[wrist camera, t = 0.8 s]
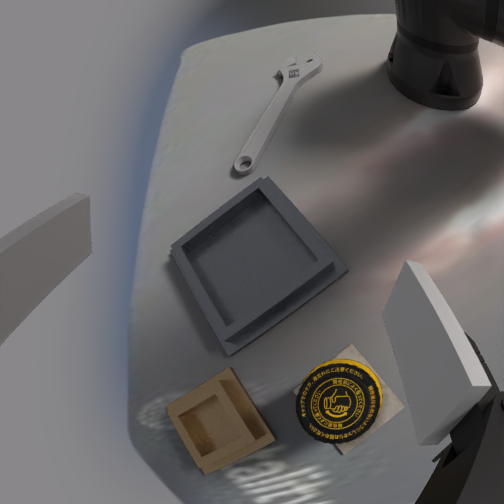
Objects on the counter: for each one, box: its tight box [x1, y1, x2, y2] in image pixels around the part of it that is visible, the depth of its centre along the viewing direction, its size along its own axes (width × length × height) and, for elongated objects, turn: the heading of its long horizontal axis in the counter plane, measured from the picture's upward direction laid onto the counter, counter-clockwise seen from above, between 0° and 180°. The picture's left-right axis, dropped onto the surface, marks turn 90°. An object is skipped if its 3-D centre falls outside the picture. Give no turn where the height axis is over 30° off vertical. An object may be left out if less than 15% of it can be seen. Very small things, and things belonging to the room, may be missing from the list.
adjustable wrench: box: [234, 53, 323, 176], centre depth 43 cm, size 25×6×2 cm, turn 148°
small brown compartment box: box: [166, 367, 277, 475], centre depth 29 cm, size 9×9×3 cm
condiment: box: [293, 343, 405, 454], centre depth 22 cm, size 7×8×12 cm
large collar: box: [170, 177, 349, 357], centre depth 34 cm, size 15×15×3 cm
